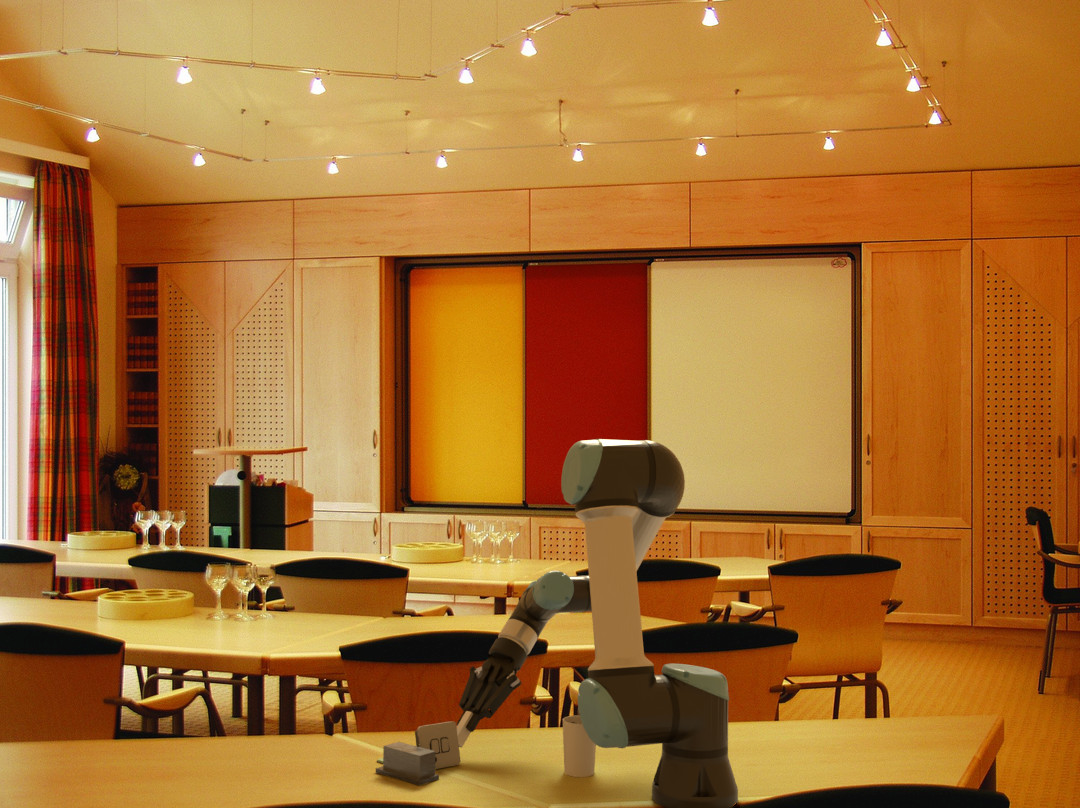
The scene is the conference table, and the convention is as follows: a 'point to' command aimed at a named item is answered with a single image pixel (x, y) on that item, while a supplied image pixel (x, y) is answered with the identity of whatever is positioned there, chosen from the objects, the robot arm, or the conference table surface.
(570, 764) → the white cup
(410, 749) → the block
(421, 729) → the electrical switch
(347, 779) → the conference table surface
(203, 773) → the conference table surface
